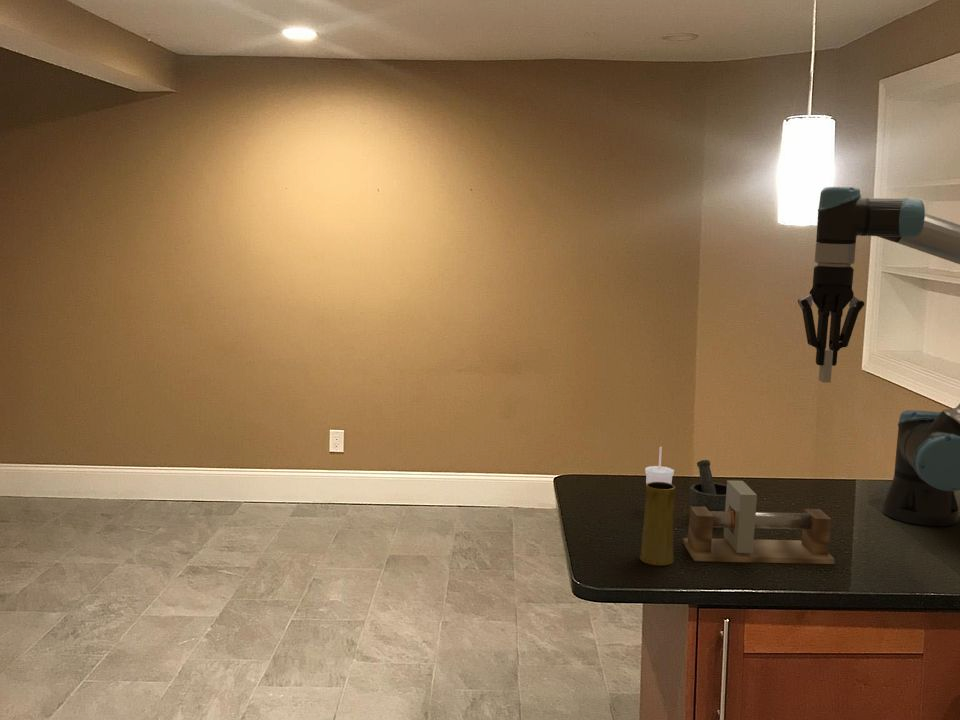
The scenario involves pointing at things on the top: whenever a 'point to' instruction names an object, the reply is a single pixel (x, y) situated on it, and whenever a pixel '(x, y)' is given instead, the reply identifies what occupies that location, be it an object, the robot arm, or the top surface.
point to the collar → (741, 516)
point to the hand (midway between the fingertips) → (824, 381)
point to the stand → (759, 542)
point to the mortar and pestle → (708, 490)
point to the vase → (658, 524)
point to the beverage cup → (659, 472)
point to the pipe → (765, 520)
